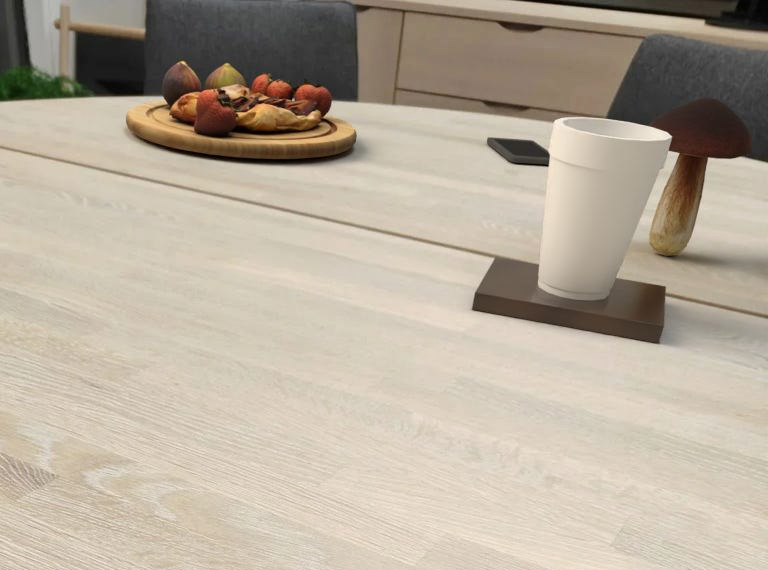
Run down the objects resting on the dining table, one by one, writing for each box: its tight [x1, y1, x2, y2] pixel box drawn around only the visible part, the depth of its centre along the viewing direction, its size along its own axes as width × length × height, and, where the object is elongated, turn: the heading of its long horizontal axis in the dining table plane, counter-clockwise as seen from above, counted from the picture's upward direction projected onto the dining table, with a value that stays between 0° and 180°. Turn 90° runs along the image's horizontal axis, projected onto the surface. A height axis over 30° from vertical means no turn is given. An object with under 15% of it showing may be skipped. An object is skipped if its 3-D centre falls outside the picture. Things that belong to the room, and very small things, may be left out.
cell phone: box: [486, 136, 550, 166], centre depth 145 cm, size 7×14×1 cm, turn 6°
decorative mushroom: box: [647, 97, 754, 257], centre depth 102 cm, size 11×11×15 cm
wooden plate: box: [125, 60, 358, 160], centre depth 136 cm, size 32×32×8 cm
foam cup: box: [538, 116, 672, 301], centre depth 85 cm, size 10×9×13 cm
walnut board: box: [471, 257, 667, 344], centre depth 89 cm, size 16×12×2 cm
